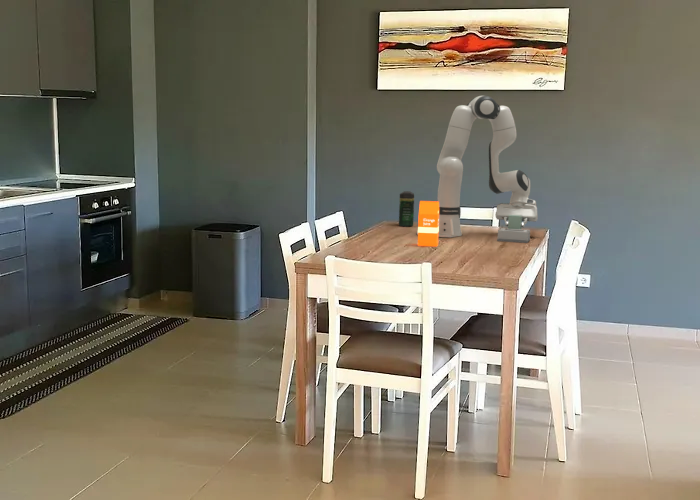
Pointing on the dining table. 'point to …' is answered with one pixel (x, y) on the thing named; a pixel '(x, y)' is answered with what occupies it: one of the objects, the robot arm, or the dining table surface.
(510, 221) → the green rectangular block
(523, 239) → the gray slotted block
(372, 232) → the dining table surface
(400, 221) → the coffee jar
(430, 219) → the orange juice
